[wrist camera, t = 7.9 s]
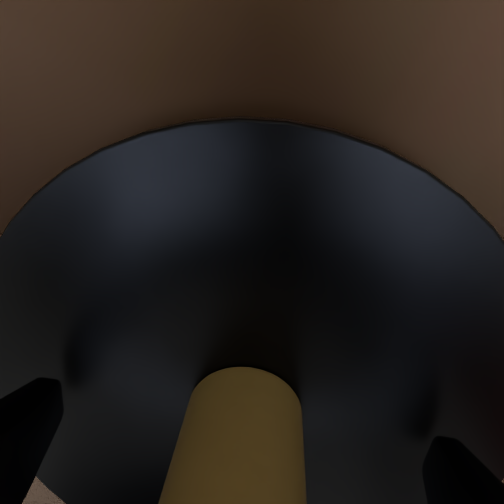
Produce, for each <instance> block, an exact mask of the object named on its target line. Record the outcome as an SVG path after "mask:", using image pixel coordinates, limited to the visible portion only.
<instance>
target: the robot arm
mask: <svg viewBox="0 0 504 504" xmlns="http://www.w3.org/2000/svg"><path fill="white" fill-rule="evenodd" d="M63 413H64V405H63V396H62V386H61V383H60V381H59V380H57V379H52V378H45V377H39V378H36V379H34V380H33V381H31V382H29V383H27V384H26V385H24V386H22V387H20V388H18V389H17V390H15V391H13V392H11V393H10V394H8V395H6V396H4V397H3V398H1V399H0V504H22V502H23V500H24V499H25V497H26V495H27V493H28V491H29V489H30V487H31V485H32V483H33V480H34V478H35V476H36V474H37V472H38V470H39V468H40V465H41V463H42V461H43V459H44V457H45V455H46V453H47V450H48V448H49V446H50V444H51V442H52V440H53V438H54V435H55V433H56V431H57V429H58V427H59V425H60V423H61V420H62V417H63ZM422 476H423V482H424V487H425V493H426V498H427V503H428V504H504V483H502V482H501V481H500V480H499V479H498V478H497V477H496V476H495V475H494V474H493V473H492V472H491V471H490V470H489V469H488V468H487V467H486V466H485V465H484V464H483V463H482V462H481V461H480V460H479V459H478V458H477V457H476V456H475V455H474V454H473V453H472V452H471V451H470V450H469V449H468V448H467V447H466V446H465V445H464V444H463V443H462V442H460V441H459V440H458V439H456V438H451V437H444V436H436V437H434V438H433V440H432V442H431V445H430V447H429V449H428V452H427V454H426V457H425V459H424V461H423V465H422Z"/></svg>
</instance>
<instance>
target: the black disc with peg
mask: <svg viewBox="0 0 504 504" xmlns="http://www.w3.org/2000/svg"><path fill="white" fill-rule="evenodd" d="M39 377H45V378H52V379H57V380H59V381H60V383H61V386H62V396H63V405H64V413H63V417H62V420H61V423H60V425H59V427H58V429H57V431H56V433H55V435H54V438H53V440H52V442H51V444H50V446H49V448H48V450H47V453H46V455H45V457H44V459H43V461H42V463H41V465H40V468H39V470H38V472H37V474H36V477H37V478H38V479H39V480H40V481H41V482H42V483H43V484H44V485H45V486H46V487H47V488H48V489H49V490H51V491H52V492H53V493H54V494H55V495H57V496H58V497H59V498H60V499H61V500H62V501H64V502H65V503H66V504H428V503H427V498H426V493H425V487H424V482H423V476H422V465H423V461H424V459H425V457H426V454H427V452H428V449H429V447H430V445H431V442H432V440H433V438H434V437H436V436H444V437H451V438H456V439H458V440H459V441H460V442H462V443H463V444H464V445H465V446H466V447H467V448H468V449H469V450H470V451H471V452H472V453H473V454H474V455H475V456H476V457H477V458H478V459H479V460H480V461H481V462H482V463H483V464H484V465H485V466H486V467H487V468H488V469H489V470H490V471H491V472H492V473H493V474H494V475H495V476H496V477H497V478H498V479H499V480H500V481H502V480H503V479H504V241H503V239H502V238H501V237H500V235H499V234H498V232H497V231H496V230H495V228H494V227H493V226H492V225H491V224H490V223H489V222H488V221H487V220H486V219H485V218H484V217H483V216H482V215H481V214H480V213H479V212H478V211H477V210H476V209H475V208H474V207H473V206H472V205H471V204H470V203H469V202H468V201H467V200H466V199H465V198H464V197H463V196H462V195H460V194H459V193H457V192H456V191H455V190H453V189H452V188H451V187H449V186H448V185H446V184H445V183H444V182H442V181H441V180H440V179H438V178H437V177H435V176H434V175H433V174H431V173H430V172H429V171H427V170H426V169H424V168H423V167H421V166H419V165H417V164H416V163H414V162H412V161H410V160H408V159H406V158H404V157H402V156H400V155H398V154H396V153H395V152H393V151H391V150H389V149H387V148H385V147H383V146H381V145H379V144H377V143H374V142H371V141H368V140H365V139H363V138H360V137H357V136H354V135H351V134H348V133H346V132H343V131H340V130H337V129H334V128H329V127H324V126H319V125H314V124H309V123H304V122H300V121H295V120H290V119H277V118H261V117H245V116H237V117H224V118H211V119H198V120H191V121H187V122H182V123H178V124H173V125H169V126H164V127H160V128H155V129H151V130H148V131H145V132H142V133H140V134H137V135H135V136H132V137H129V138H127V139H124V140H121V141H119V142H116V143H114V144H111V145H108V146H106V147H103V148H101V149H99V150H97V151H96V152H94V153H92V154H90V155H89V156H87V157H85V158H83V159H82V160H80V161H78V162H76V163H75V164H73V165H71V166H69V167H68V168H66V169H64V170H63V171H62V172H61V173H59V174H58V175H57V176H56V177H55V178H53V179H52V180H51V181H50V182H48V183H47V184H46V185H45V186H43V187H42V188H41V189H40V190H38V191H37V192H36V193H35V194H34V195H33V196H32V197H31V198H30V199H29V201H28V202H27V203H26V204H25V205H24V206H23V207H22V208H21V210H20V211H19V212H18V213H17V214H16V215H15V216H14V218H13V219H12V220H11V221H10V223H9V224H8V226H7V227H6V229H5V231H4V232H3V234H2V236H1V237H0V399H1V398H3V397H4V396H6V395H8V394H10V393H11V392H13V391H15V390H17V389H18V388H20V387H22V386H24V385H26V384H27V383H29V382H31V381H33V380H34V379H36V378H39Z"/></svg>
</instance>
